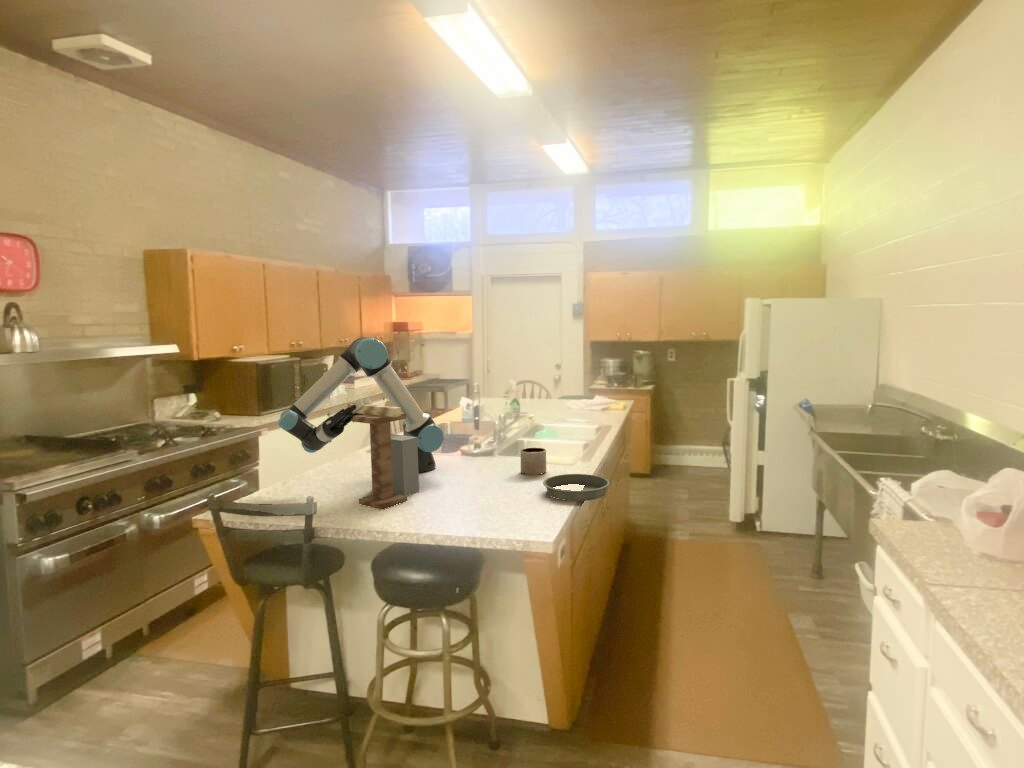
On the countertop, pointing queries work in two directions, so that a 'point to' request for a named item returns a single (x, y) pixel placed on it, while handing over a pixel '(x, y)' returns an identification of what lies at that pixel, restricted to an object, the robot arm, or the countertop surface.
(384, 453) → the walnut stand
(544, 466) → the planter
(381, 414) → the birch bar
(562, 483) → the cake pan
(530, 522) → the countertop surface
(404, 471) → the slate block
